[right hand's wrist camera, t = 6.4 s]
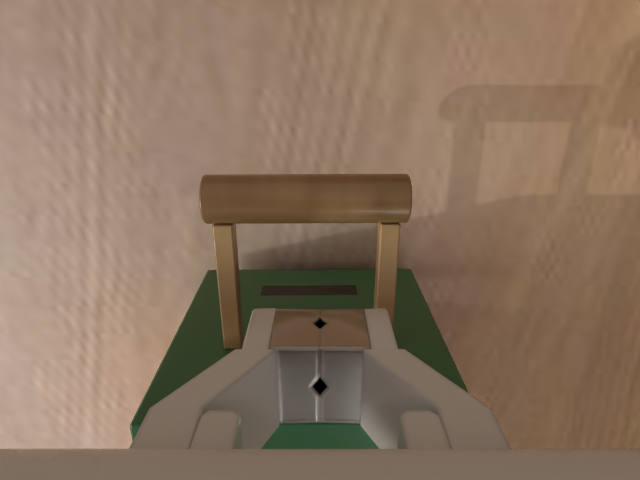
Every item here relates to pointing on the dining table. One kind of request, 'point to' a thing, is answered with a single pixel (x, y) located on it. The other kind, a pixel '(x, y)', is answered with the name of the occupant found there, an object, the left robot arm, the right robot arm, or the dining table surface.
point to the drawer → (299, 284)
